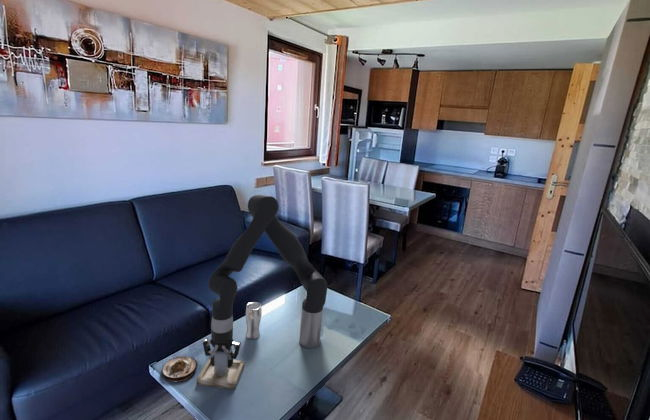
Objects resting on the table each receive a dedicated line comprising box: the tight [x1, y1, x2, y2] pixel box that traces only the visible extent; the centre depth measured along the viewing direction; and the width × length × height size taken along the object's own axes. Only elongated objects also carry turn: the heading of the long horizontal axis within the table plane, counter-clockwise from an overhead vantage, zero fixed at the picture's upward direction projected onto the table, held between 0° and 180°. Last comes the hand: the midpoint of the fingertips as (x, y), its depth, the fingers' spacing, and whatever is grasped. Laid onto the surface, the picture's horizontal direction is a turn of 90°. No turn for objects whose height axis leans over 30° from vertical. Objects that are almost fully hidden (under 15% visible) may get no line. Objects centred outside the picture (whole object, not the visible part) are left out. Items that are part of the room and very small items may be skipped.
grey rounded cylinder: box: [214, 350, 229, 376], centre depth 125 cm, size 6×6×9 cm
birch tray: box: [196, 356, 245, 390], centre depth 126 cm, size 14×12×2 cm
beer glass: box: [245, 301, 263, 340], centre depth 150 cm, size 7×7×15 cm
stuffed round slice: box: [161, 355, 198, 382], centre depth 127 cm, size 15×15×4 cm
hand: (221, 365), depth 125 cm, fingers closed on grey rounded cylinder, 5 cm apart
